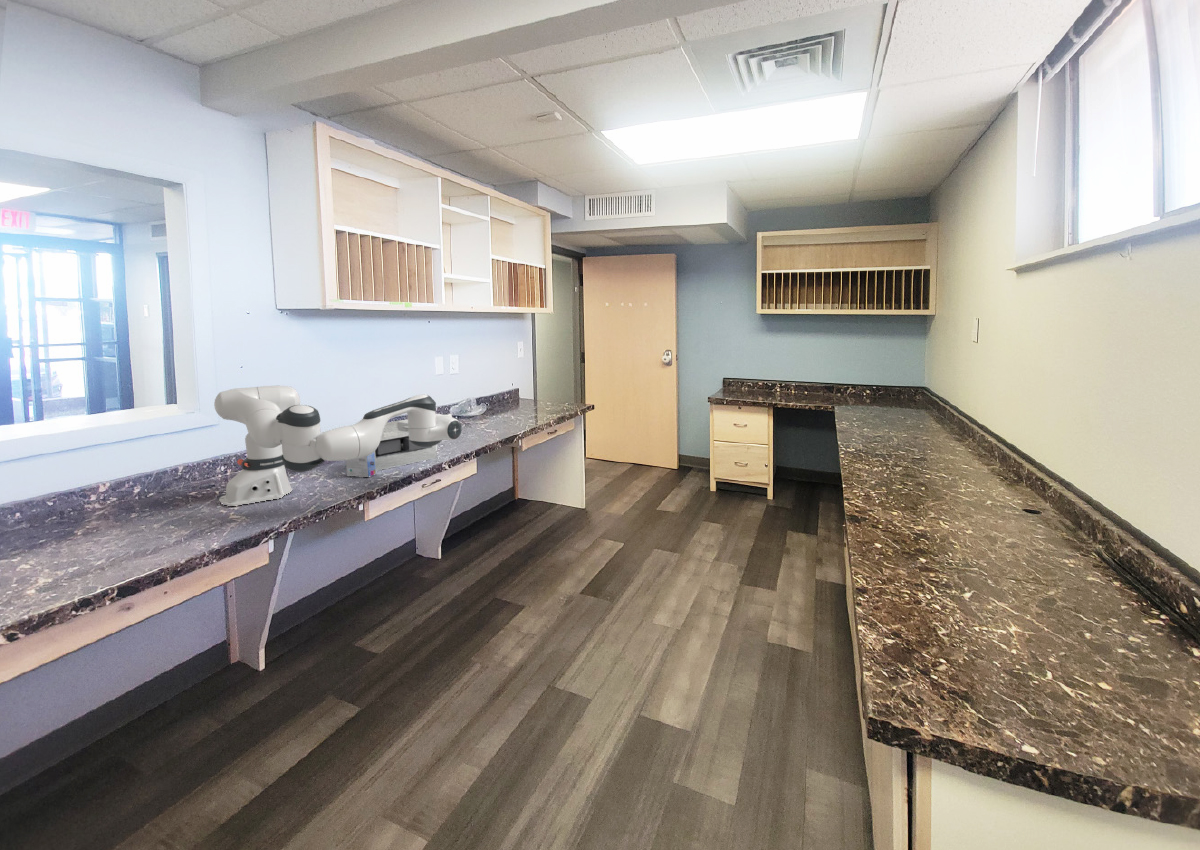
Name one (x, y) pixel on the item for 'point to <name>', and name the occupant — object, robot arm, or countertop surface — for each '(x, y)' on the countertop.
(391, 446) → the button
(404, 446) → the button
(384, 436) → the metal drawer cabinet
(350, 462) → the ink cartridge box
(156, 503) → the countertop surface
